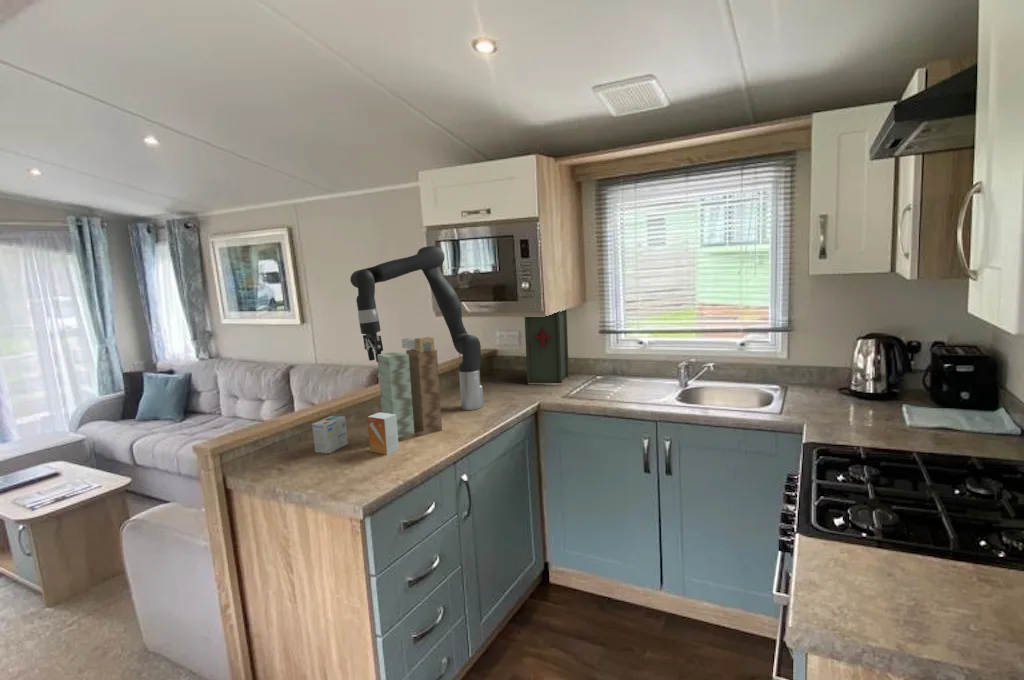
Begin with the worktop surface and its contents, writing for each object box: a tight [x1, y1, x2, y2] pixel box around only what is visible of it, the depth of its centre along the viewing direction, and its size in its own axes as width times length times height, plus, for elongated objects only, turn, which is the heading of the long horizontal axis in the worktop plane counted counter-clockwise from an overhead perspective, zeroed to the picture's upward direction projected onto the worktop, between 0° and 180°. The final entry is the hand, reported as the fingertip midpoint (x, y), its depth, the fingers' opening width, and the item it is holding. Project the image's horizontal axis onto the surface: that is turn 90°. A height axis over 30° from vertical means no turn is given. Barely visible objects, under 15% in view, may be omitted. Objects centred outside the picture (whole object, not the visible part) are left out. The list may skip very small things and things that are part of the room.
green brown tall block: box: [377, 349, 443, 442], centre depth 207 cm, size 20×10×32 cm, turn 128°
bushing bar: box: [401, 336, 435, 353], centre depth 212 cm, size 6×18×5 cm, turn 38°
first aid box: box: [524, 309, 570, 383], centre depth 287 cm, size 18×18×40 cm
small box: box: [367, 411, 400, 456], centre depth 190 cm, size 8×6×13 cm
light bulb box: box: [311, 415, 349, 454], centre depth 196 cm, size 11×7×11 cm, turn 159°
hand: (375, 361), depth 213 cm, fingers open, 8 cm apart
